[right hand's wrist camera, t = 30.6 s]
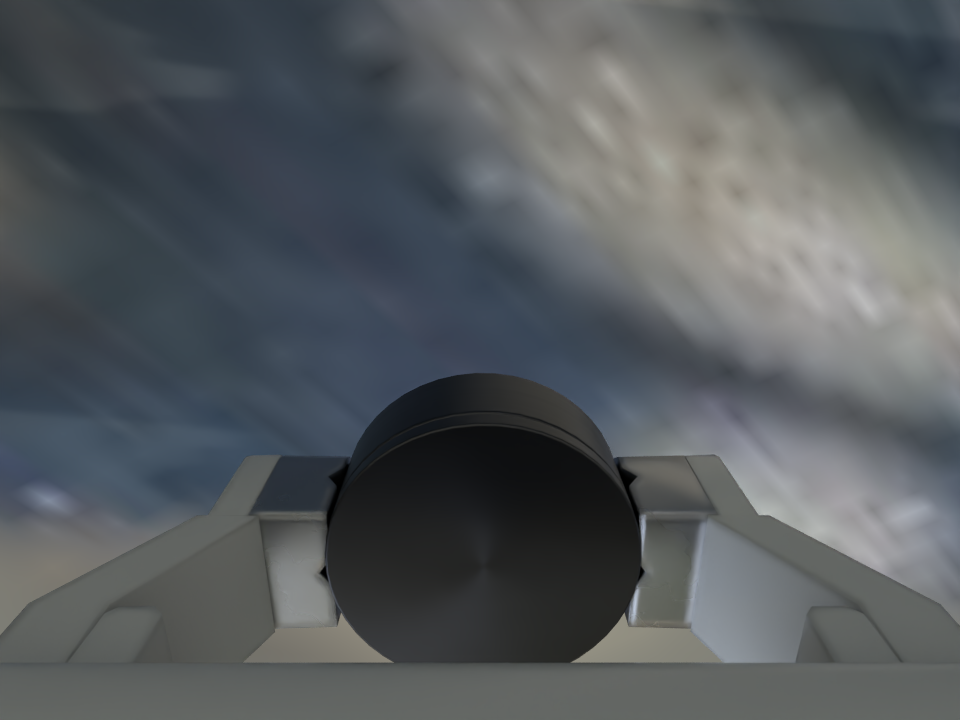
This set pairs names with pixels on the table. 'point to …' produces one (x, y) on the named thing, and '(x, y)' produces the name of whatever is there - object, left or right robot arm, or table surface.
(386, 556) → the cap
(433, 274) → the table surface
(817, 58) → the table surface
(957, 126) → the table surface
